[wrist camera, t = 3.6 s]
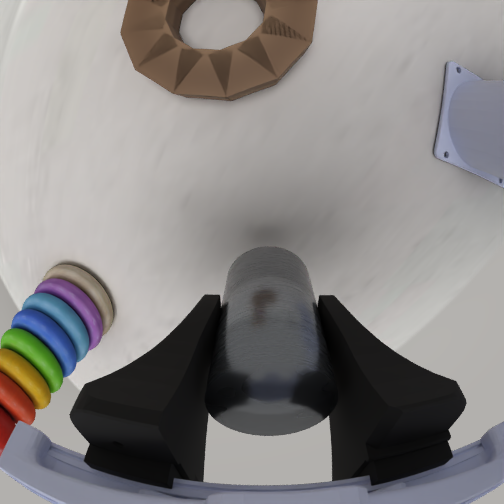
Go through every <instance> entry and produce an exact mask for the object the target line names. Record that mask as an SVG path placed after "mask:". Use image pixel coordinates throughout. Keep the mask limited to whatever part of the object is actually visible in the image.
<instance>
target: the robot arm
mask: <svg viewBox="0 0 504 504" xmlns="http://www.w3.org/2000/svg"><path fill="white" fill-rule="evenodd" d="M456 68H457V69H458V72H457V70H456ZM444 152H446V157H444ZM434 155H435V156H436V158H438V159H441V160H443V161H446V162H448V163H450V164H453V165H455V166H458V167H460V168H462V169H465V170H467V171H469V172H471V173H474V174H476V175H478V176H480V177H482V178H484V179H486V180H488V181H491V182H493V183H495V184H497V185H499V186H501V187H502V188H504V80H483V79H481V78H480V77H478V76H477V75H475V74H474V73H472V72H470V71H469V70H467V69H466V68H464V67H462V66H460V65H459V64H457V63H455V62H453V61H450V62H448V63H447V65H446V76H445V86H444V94H443V102H442V109H441V115H440V122H439V127H438V133H437V138H436V143H435V148H434ZM499 179H500V181H499ZM318 311H319V315H320V319H321V323H322V327H323V331H324V335H325V339H326V343H327V347H328V351H329V355H330V359H331V364H332V368H333V372H334V377H335V381H336V385H337V390H338V402H337V405H336V407H335V408H334V410H333V411H332V412H331V414H330V415H329V418H330V419H329V420H330V431H331V445H332V481H330V482H321V483H311V484H298V485H272V486H271V485H269V486H267V485H265V486H264V485H263V486H261V485H260V486H258V485H231V484H216V483H207V482H203V477H204V460H205V445H206V444H205V443H206V433H207V423H208V413H209V412H208V411H207V409H206V406H205V401H204V398H205V392H206V387H207V381H208V375H209V370H210V364H211V359H212V354H213V348H214V343H215V338H216V332H217V327H218V322H219V317H220V312H221V302H220V295H206V294H205V295H204V296H203V297H202V299H201V300H200V301H199V302H198V303H197V305H196V306H195V307H194V308H193V310H192V311H191V312H190V313H189V314H188V315H187V316H186V318H185V319H184V320H183V321H182V322H181V323H180V324H179V325H178V326H177V327H176V328H175V329H174V330H173V331H172V332H171V333H170V334H169V335H168V336H167V337H166V338H165V339H164V340H162V341H161V342H160V343H159V344H158V345H156V346H155V347H154V348H153V349H151V350H150V351H149V352H147V353H146V354H144V355H143V356H141V357H140V358H138V359H136V360H135V361H133V362H132V363H130V364H128V365H127V366H125V367H123V368H121V369H119V370H117V371H115V372H113V373H111V374H109V375H107V376H104V377H102V378H99V379H97V380H94V381H92V382H89V383H86V384H85V385H84V387H83V388H82V390H81V392H80V394H79V396H78V398H77V400H76V402H75V404H74V406H73V408H72V410H71V412H70V418H71V421H72V423H73V424H74V426H75V427H76V428H77V430H78V431H79V432H80V433H81V434H82V435H83V436H84V438H85V439H86V440H87V441H88V442H89V443H90V445H89V447H88V450H87V453H86V455H83V454H80V453H77V452H75V451H72V450H69V449H67V448H64V447H62V446H60V445H57V444H55V443H52V442H51V440H50V439H49V438H48V437H47V436H46V435H45V434H44V433H43V432H41V431H40V430H38V429H37V428H34V427H32V426H30V425H28V424H26V423H24V422H22V421H18V423H17V424H16V426H15V428H14V430H13V432H12V434H11V436H10V438H9V440H8V442H7V444H6V446H5V448H4V450H3V452H2V454H1V456H0V469H1V470H2V471H4V472H5V473H6V474H7V475H9V476H10V477H11V478H13V479H14V480H15V481H17V482H18V483H20V484H21V485H23V486H24V487H25V488H27V489H28V490H30V491H31V492H33V493H35V494H36V495H38V496H40V497H42V498H44V499H46V500H47V501H49V502H51V503H53V504H469V503H471V502H473V501H475V500H477V499H478V498H480V497H482V496H484V495H486V494H487V493H489V492H490V491H492V490H494V489H495V488H497V487H498V486H500V485H501V484H503V483H504V422H502V423H500V424H498V425H496V426H494V427H492V428H491V429H490V430H488V431H487V432H486V433H485V434H484V435H483V436H482V438H481V439H480V440H478V441H476V442H474V443H471V444H469V445H467V446H464V447H462V448H459V449H457V450H454V451H451V449H450V446H449V443H448V440H449V439H450V438H451V435H450V433H449V430H448V429H449V428H450V427H451V426H452V425H453V424H454V422H455V421H456V420H457V419H458V418H459V416H460V415H461V414H462V412H463V411H464V409H465V406H466V399H465V397H464V395H463V393H462V391H461V389H460V387H459V385H458V384H457V382H456V381H454V380H451V379H449V378H446V377H443V376H440V375H438V374H435V373H433V372H431V371H429V370H426V369H424V368H422V367H420V366H418V365H416V364H414V363H413V362H411V361H409V360H408V359H406V358H404V357H402V356H401V355H399V354H398V353H396V352H395V351H393V350H392V349H391V348H389V347H388V346H386V345H385V344H384V343H382V342H381V341H380V340H379V339H377V338H376V337H375V336H374V335H373V334H372V333H370V332H369V331H368V330H367V329H366V328H365V327H364V326H363V325H362V324H361V323H360V322H359V321H358V320H357V319H356V318H355V317H354V316H353V315H352V314H351V313H350V312H349V311H348V310H347V309H346V308H345V307H344V306H343V305H342V304H341V303H340V301H339V300H338V299H337V298H336V297H335V296H334V295H319V301H318Z"/></svg>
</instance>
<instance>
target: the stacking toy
mask: <svg viewBox="0 0 504 504" xmlns="http://www.w3.org/2000/svg"><path fill="white" fill-rule="evenodd" d="M112 321H113V309H112V305H111V302H110V299H109V297H108V295H107V293H106V292H105V290H104V289H103V287H102V286H101V285H100V284H99V282H98V281H97V280H96V279H95V278H94V277H93V276H91V275H90V274H89V273H87V272H86V271H84V270H82V269H80V268H78V267H76V266H72V265H66V264H63V265H57V266H55V267H53V268H51V269H50V270H49V271H48V272H47V273H46V275H45V276H44V278H43V281H42V283H40V284H39V285H38V287H37V288H36V290H35V292H34V294H33V295H31V296H29V297H28V298H27V299H26V301H25V302H24V304H23V307H22V310H21V311H20V312H18V313H17V314H16V315H15V316H14V318H13V321H12V325H11V329H10V330H8V331H6V332H5V333H4V335H3V336H2V339H1V349H0V456H1V454H2V452H3V450H4V448H5V446H6V444H7V442H8V440H9V438H10V436H11V434H12V432H13V430H14V428H15V426H16V425H15V423H16V424H17V423H18V421H22V422H24V423H26V424H28V425H31V424H32V423H33V421H34V420H35V414H36V412H35V409H43V408H45V407H47V406H48V404H49V403H50V399H51V393H54V392H56V391H58V390H59V389H60V387H61V385H62V383H63V378H64V377H67V376H69V375H70V374H71V373H72V372H73V371H74V369H75V367H76V363H77V362H79V361H81V360H82V359H83V358H84V357H85V356H86V354H87V352H88V351H89V350H91V349H93V348H95V347H96V346H97V345H98V343H99V342H100V340H101V338H102V336H103V335H104V334H106V333H107V332H108V330H109V329H110V327H111V325H112Z"/></svg>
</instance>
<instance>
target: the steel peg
mask: <svg viewBox="0 0 504 504" xmlns="http://www.w3.org/2000/svg"><path fill="white" fill-rule="evenodd" d="M204 401H205V406H206V409H207V411H208V412H209V413H210V415H211V416H212V417H213V418H214V419H215V420H216V421H218V422H219V423H221V424H222V425H224V426H226V427H228V428H230V429H233V430H235V431H238V432H242V433H246V434H252V435H260V436H261V435H262V436H274V435H285V434H291V433H295V432H299V431H302V430H305V429H308V428H310V427H312V426H314V425H316V424H318V423H319V422H321V421H322V420H324V419H325V418H326V417H327V416H329V415H330V414H331V412H332V411H333V410H334V408H335V407H336V405H337V402H338V390H337V385H336V381H335V377H334V372H333V368H332V364H331V359H330V355H329V351H328V347H327V343H326V339H325V335H324V331H323V327H322V323H321V319H320V315H319V311H318V307H317V304H316V300H315V296H314V292H313V289H312V285H311V281H310V278H309V274H308V271H307V268H306V266H305V265H304V263H303V262H302V261H301V260H300V258H298V257H297V256H296V255H295V254H293V253H292V252H290V251H288V250H285V249H282V248H278V247H259V248H255V249H252V250H250V251H247V252H246V253H244V254H242V255H241V256H240V257H238V258H237V259H236V260H235V262H234V263H233V264H232V266H231V268H230V270H229V272H228V276H227V281H226V286H225V291H224V296H223V301H222V306H221V312H220V317H219V322H218V327H217V332H216V338H215V343H214V348H213V354H212V359H211V364H210V370H209V375H208V381H207V387H206V392H205V398H204Z"/></svg>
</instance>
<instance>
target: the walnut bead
mask: <svg viewBox="0 0 504 504" xmlns="http://www.w3.org/2000/svg"><path fill="white" fill-rule="evenodd" d="M194 1H195V0H128V4H127V8H126V11H125V15H124V20H123V24H122V28H121V36H122V39H123V41H124V44H125V46H126V49H127V51H128V53H129V56H130V58H131V61H132V63H133V66H134V68H135V70H136V71H138V72H140V73H141V74H143V75H145V76H146V77H148V78H149V79H151V80H153V81H154V82H156V83H157V84H159V85H161V86H162V87H164V88H165V89H167V90H168V91H170V92H171V93H173V94H176V95H180V96H184V97H188V98H204V99H216V100H227V101H233V100H235V99H238V98H241V97H243V96H246V95H248V94H251V93H254V92H257V91H259V90H262V89H265V88H268V87H271V86H274V85H276V84H277V82H278V81H279V80H280V79H281V78H282V77H283V76H284V75H285V74H286V73H287V71H288V70H289V69H290V68H291V67H292V66H293V65H294V64H295V63H296V62H297V61H298V60H299V59H300V57H301V56H302V55H303V54H304V53H305V51H306V50H307V49H308V47H309V46H310V44H311V43H312V38H313V31H314V24H315V17H316V10H317V3H318V0H255V1H256V2H257V3H258V4H259V6H260V8H261V10H262V12H263V14H264V19H263V23H262V24H261V25H260V26H259V27H258V28H257V29H256V30H255V31H254V32H253V33H252V34H251V35H250V36H249V37H248V39H247V40H245V41H243V42H240V43H237V44H234V45H232V46H229V47H226V48H224V49H221V50H212V49H193V48H191V47H190V46H188V45H186V44H184V42H183V40H182V38H181V36H180V34H179V28H180V24H181V19H182V14H183V13H184V12H185V11H186V10H187V9H188V8H189V6H190V5H191V4H192V3H193V2H194Z"/></svg>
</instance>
